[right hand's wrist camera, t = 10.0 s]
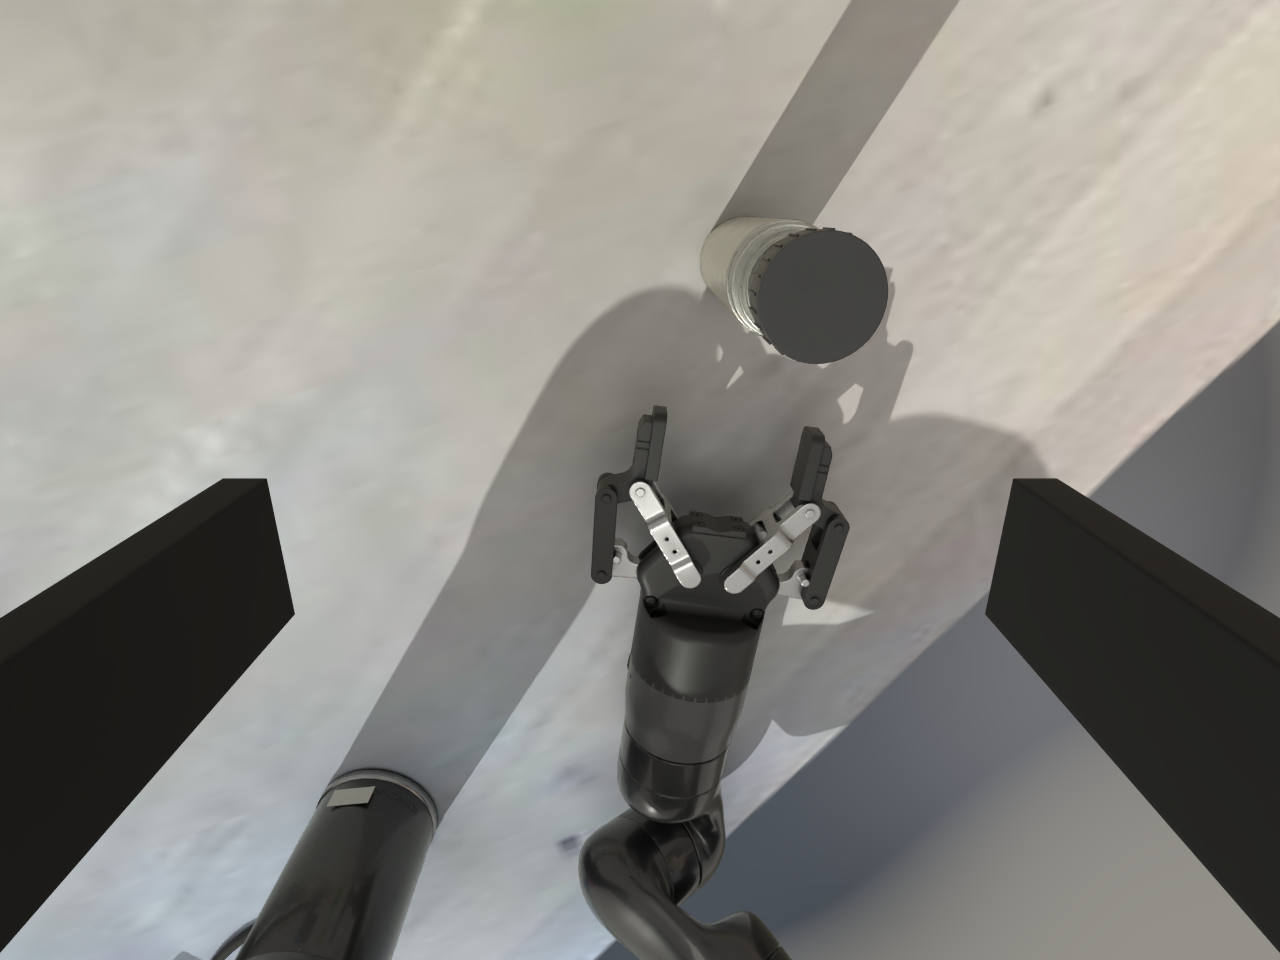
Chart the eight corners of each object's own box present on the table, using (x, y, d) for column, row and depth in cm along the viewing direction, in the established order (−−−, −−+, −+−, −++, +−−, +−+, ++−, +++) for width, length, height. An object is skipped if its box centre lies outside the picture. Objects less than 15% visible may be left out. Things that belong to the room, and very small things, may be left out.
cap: (782, 205, 23) (793, 205, 22) (896, 257, 24) (915, 261, 22) (727, 327, 25) (733, 335, 23) (835, 373, 25) (849, 385, 24)
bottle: (721, 203, 39) (787, 196, 22) (796, 237, 40) (919, 256, 22) (686, 284, 41) (723, 337, 23) (759, 315, 41) (848, 390, 24)
